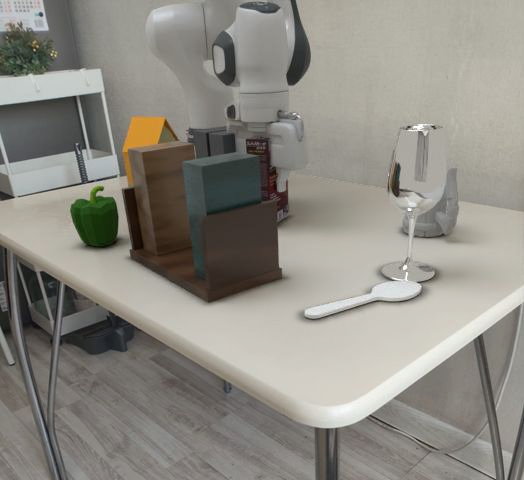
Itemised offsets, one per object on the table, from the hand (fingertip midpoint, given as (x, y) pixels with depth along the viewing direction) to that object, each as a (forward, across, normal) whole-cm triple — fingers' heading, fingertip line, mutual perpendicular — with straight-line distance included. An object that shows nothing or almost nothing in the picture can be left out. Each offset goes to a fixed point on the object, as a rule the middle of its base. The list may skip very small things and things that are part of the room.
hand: (267, 188), depth 102 cm
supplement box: (+7, 0, 0) cm, 7 cm away
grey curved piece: (+7, -27, -15) cm, 32 cm away
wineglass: (+6, -36, +2) cm, 37 cm away
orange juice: (+7, +14, +16) cm, 22 cm away
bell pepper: (+7, +12, +30) cm, 33 cm away
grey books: (+7, +13, 0) cm, 14 cm away
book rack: (+6, -12, +23) cm, 27 cm away
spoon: (+6, -39, +14) cm, 42 cm away
